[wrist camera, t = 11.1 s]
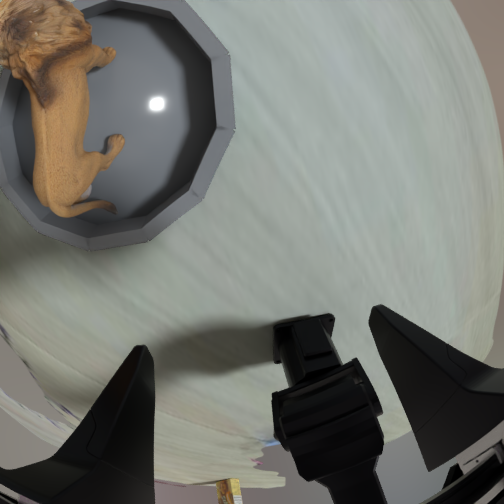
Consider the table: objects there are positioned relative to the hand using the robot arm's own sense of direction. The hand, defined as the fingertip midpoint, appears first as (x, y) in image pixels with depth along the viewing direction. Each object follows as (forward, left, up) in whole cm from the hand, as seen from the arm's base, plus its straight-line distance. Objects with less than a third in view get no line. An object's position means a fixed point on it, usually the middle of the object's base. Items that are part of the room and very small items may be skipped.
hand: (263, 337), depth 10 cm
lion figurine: (+9, +9, -11) cm, 17 cm away
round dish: (+8, +8, -12) cm, 16 cm away
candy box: (-100, +14, -12) cm, 101 cm away
